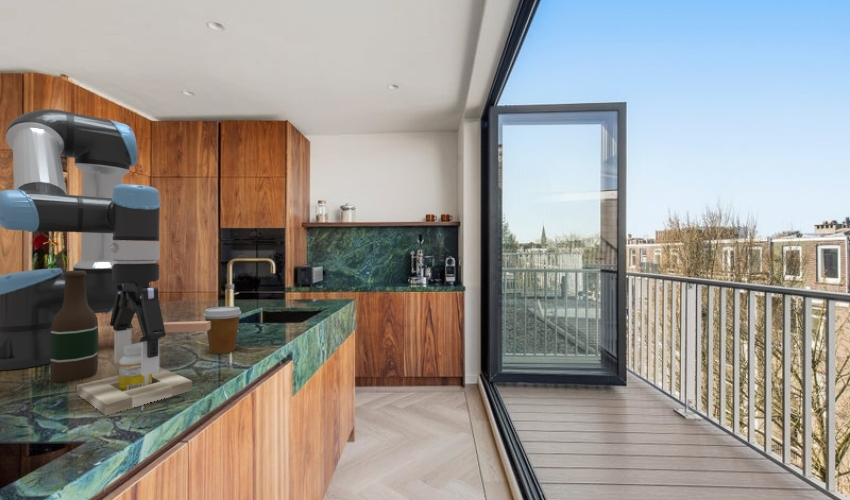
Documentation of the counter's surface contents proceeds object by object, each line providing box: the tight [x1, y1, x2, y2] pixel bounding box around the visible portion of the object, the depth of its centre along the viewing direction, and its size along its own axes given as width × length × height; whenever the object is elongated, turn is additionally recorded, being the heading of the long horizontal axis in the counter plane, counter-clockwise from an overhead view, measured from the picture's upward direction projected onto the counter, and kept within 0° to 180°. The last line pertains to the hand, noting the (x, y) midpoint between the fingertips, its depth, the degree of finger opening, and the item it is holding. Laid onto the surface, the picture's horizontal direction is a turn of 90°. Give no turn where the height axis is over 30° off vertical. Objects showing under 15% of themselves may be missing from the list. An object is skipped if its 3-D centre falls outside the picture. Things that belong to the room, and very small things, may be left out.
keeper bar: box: [163, 320, 211, 333], centre depth 83 cm, size 12×3×2 cm, turn 102°
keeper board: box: [76, 366, 193, 417], centre depth 75 cm, size 16×14×10 cm
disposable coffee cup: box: [203, 306, 242, 355], centre depth 105 cm, size 10×10×12 cm
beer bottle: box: [50, 270, 99, 383], centre depth 83 cm, size 8×8×24 cm
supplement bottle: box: [118, 342, 152, 392], centre depth 75 cm, size 5×5×10 cm
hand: (135, 367), depth 75 cm, fingers open, 13 cm apart
